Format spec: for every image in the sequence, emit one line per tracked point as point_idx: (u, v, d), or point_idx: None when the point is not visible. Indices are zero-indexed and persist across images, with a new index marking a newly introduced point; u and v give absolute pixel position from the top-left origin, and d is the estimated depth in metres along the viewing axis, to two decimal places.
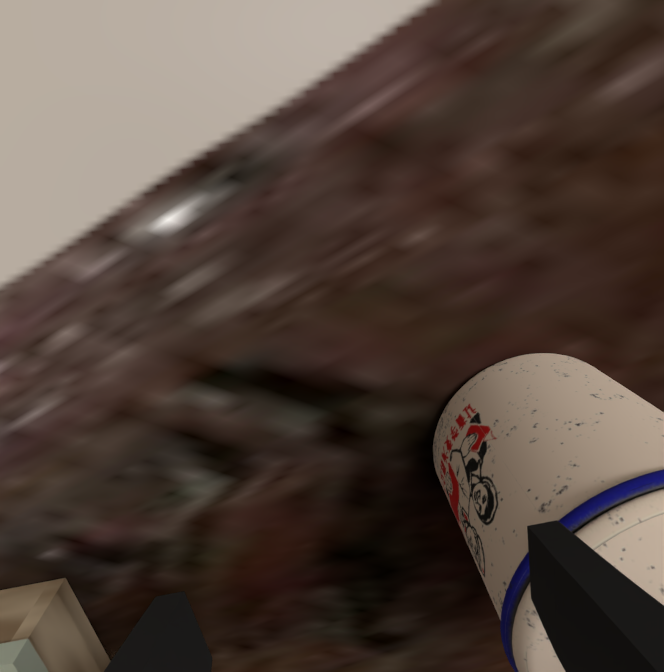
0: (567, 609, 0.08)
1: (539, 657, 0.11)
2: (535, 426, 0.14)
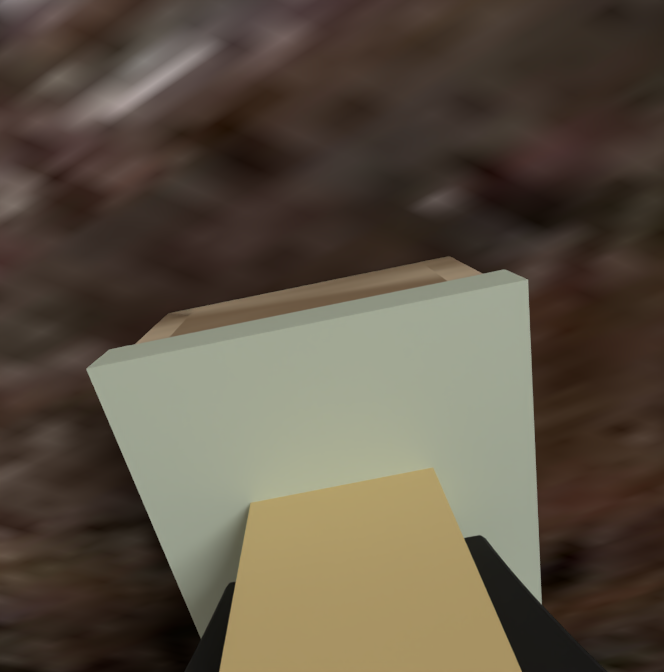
0: None
1: None
2: None
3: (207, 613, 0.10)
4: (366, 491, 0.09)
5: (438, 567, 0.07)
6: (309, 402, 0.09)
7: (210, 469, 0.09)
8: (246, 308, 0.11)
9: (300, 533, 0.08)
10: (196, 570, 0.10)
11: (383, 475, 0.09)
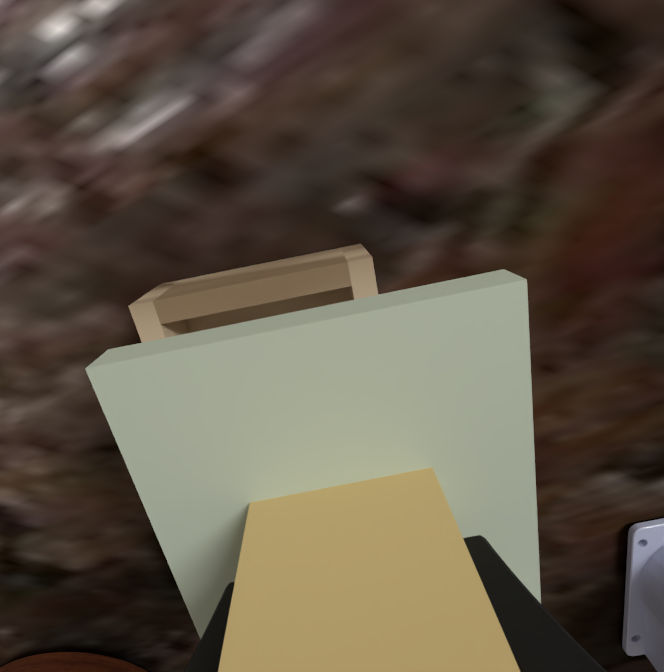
0: None
1: None
2: None
3: (206, 613, 0.10)
4: (365, 491, 0.09)
5: (437, 566, 0.07)
6: (308, 402, 0.09)
7: (209, 469, 0.09)
8: (214, 278, 0.16)
9: (299, 533, 0.08)
10: (195, 570, 0.10)
11: (382, 475, 0.09)
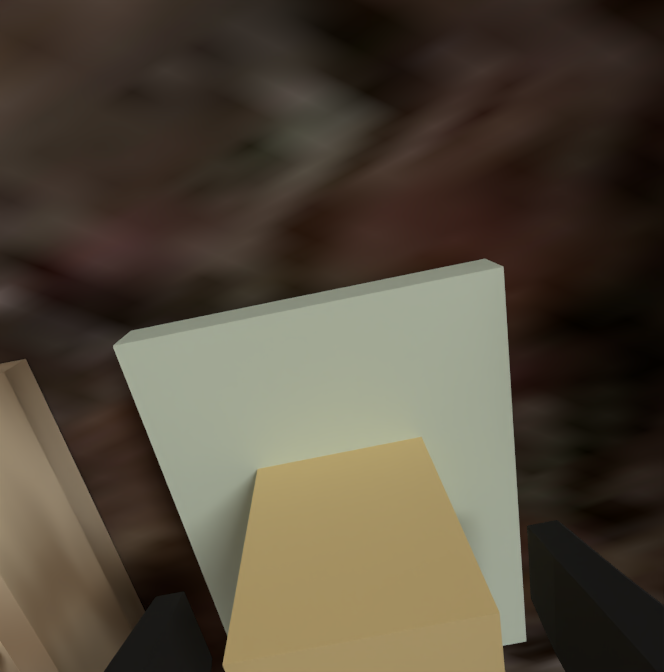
0: (567, 609, 0.08)
1: None
2: None
3: (217, 572, 0.11)
4: (361, 457, 0.10)
5: (423, 514, 0.08)
6: (310, 376, 0.10)
7: (221, 438, 0.10)
8: None
9: (302, 492, 0.09)
10: (208, 531, 0.11)
11: (377, 444, 0.10)
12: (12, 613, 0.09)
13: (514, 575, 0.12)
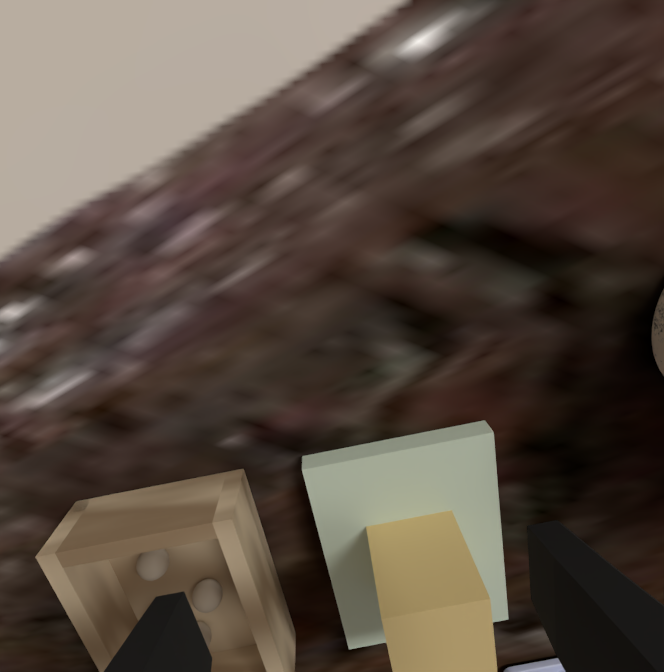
0: (567, 609, 0.08)
1: None
2: None
3: (339, 580, 0.21)
4: (421, 521, 0.20)
5: (456, 555, 0.18)
6: (396, 482, 0.19)
7: (349, 511, 0.20)
8: (115, 510, 0.19)
9: (394, 541, 0.19)
10: (336, 558, 0.21)
11: (428, 513, 0.20)
12: (255, 601, 0.19)
13: (501, 581, 0.22)
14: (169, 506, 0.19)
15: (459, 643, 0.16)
